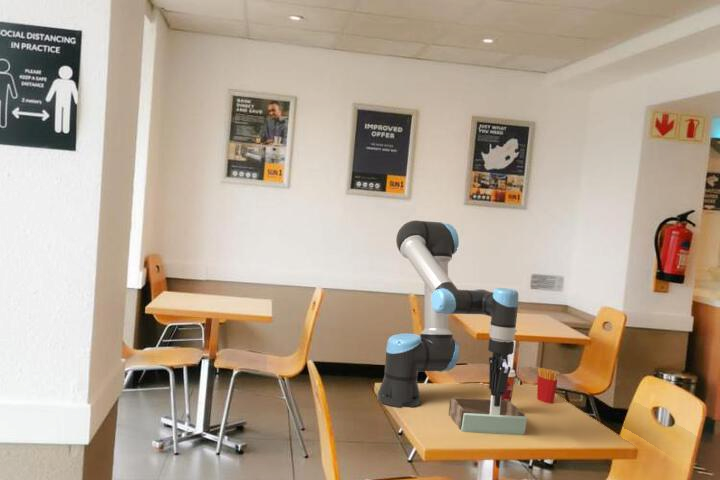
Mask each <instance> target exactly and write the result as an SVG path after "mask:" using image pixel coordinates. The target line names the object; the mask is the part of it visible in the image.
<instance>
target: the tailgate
mask: <svg viewBox="0 0 720 480" xmlns="http://www.w3.org/2000/svg"><path fill="white" fill-rule="evenodd" d="M527 421H528V417H527V416H510V415H492V414H474V413H464V415H463V421H462V427H461V430H460V431H461V432H464V433H485V434H502V435H503V434H504V435H521V436H522V435H523V436H524V435H525V432H526V428H527V423H528V422H527Z"/></svg>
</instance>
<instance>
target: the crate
mask: <svg viewBox="0 0 720 480" xmlns="http://www.w3.org/2000/svg"><path fill="white" fill-rule="evenodd" d="M490 404H491V399H486V398H485V399H484V398H471V397H470V398H469V397H453V396H450V399H449V409H448V410H449V411H448V416H449V417H450V418H451V420H452V421H453V422H454V425H456V426H457V427H458V429H459V430H460V431H461V427H462V421H463V415H464V413H474V414H490ZM500 415H510V416H525V413H524V412H523V411H522V410H520V409H519V408H518V407H517V406H516V405H515V404H513V402H512V401H511V402H510V401H505V400H501V405H500Z"/></svg>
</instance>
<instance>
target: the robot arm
mask: <svg viewBox="0 0 720 480" xmlns="http://www.w3.org/2000/svg"><path fill="white" fill-rule="evenodd" d="M395 239H396V246H397V249H398V252H399V253H400V254H401V256H402V257H403V258H405V259H407V260H408V261H409V262H410V263H411V265H412V266H413V268H414V270H415V271H416V273H417V274H418V276H419V277H420V278H421V280H422V281H423V283H424V327H423V328H424V329H422V331H421V332H420V333H419V334H420V335H419V334H416V333H398V334H394V335H391V336H390V337H389V338H388V340H387V342H386V343H387V344H386V347H385V352H386V353H385V364H384V373H383V374H384V376H383V379H382V382H381V384H380V386H379V389H378V390H377V391H378V392H377V396H376V397H377V398H376V399H377V401H378V402H379V403H381V404H384V405H387V406H390V407H396V408H414V407H415V408H416V407H418V406H419V405H420V404H421V392H420V389H419V385H418V384H419V383H418V374H419V373H420V372H423V373H424V372H440V373H441V372H447V371H450V370H453V369H454V368H455V366H456V365H457V364H458V361H459V358H460V346H459V343H458V341H457V340H456V339H455V338H453V336H454V335H453V332H451V330H450V329H449V315H484V316H488V317H490V319H491V320H490V326H489V336H488V337H490V338H489V340H488V348H487V349H488V351H489V352H490V353H492V357H491V356H490V357H488V362H489V363H488V364H489V373H488V378H489V385H488V389H489V390H490V395H491V397H490V400H491V404H490V414H492V415H500V405H501V396H504V395H505V390H506V385H507V380H508V375H509V372H510V369H511V367H510V366H508V365H509V359H508V356H509V355H512V354H513V353H514V351H515V350H514V349H515V341H514V340H515V337H516V333H517V332H518V331H517V329H516V327H517V325H516V324H517V318H518V309H519V308H518V307H519V292H518V291H517V290H516V289H512V288H505V287H504V288H503V287H498V288H497V287H496V288H494V290H493V292H491V291H489V290H485V289H478V288H477V289H473V290H472V289H471V290H469V289H458V288H457V286H456V285H455V284H454V282H453V281H452V280H451V279H450V277H449V263H450V261H452V259H453V255H454V254H455V253H457V250H458V248H459V235H458V232H457V230H456V228H454V226H453V225H452V224H451V223H446V222H445V223H444V222H442V221H440V222H438V221H427V220H416V219H415V220H410V221H408V222H406V223H404V224H403V225H402V226H401V227H400V228H399V230H398V232H397V234H396V238H395Z"/></svg>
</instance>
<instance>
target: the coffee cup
mask: <svg viewBox="0 0 720 480" xmlns="http://www.w3.org/2000/svg"><path fill="white" fill-rule="evenodd" d="M516 376H517V375H516V371H515V370H514V369H510V372H509V375H508V380H507V385H506V390H505V395H504V396H501V400H505V401H510V402H511V403H512V396H513V390H514V385H515V377H516Z"/></svg>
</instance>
